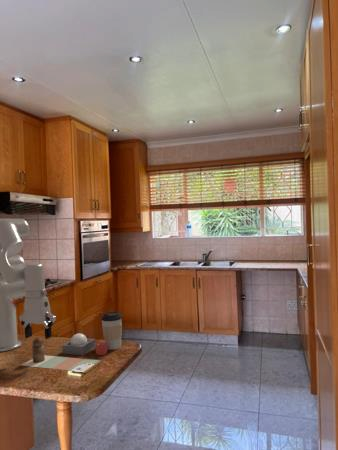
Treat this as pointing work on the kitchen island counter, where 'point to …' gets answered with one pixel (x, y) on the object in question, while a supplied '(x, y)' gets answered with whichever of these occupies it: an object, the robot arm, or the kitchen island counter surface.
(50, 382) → the kitchen island counter surface
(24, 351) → the kitchen island counter surface
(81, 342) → the dome
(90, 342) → the base
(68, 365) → the game board
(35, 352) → the walnut pawn
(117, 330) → the coffee cup
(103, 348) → the red die
